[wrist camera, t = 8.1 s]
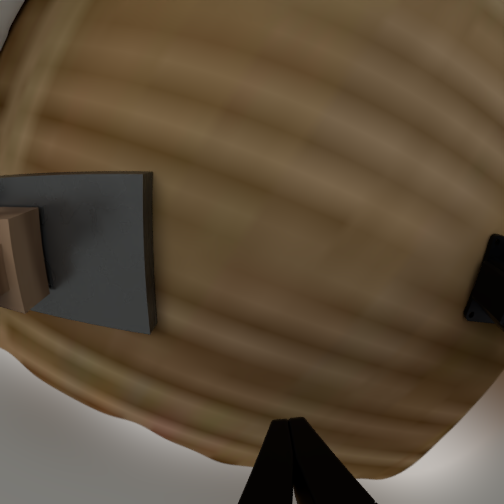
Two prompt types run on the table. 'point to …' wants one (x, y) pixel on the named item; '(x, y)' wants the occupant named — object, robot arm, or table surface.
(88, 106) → the table surface
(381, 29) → the table surface
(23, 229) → the handle
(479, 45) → the table surface
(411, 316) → the table surface
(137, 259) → the base
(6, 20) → the cable organizer
